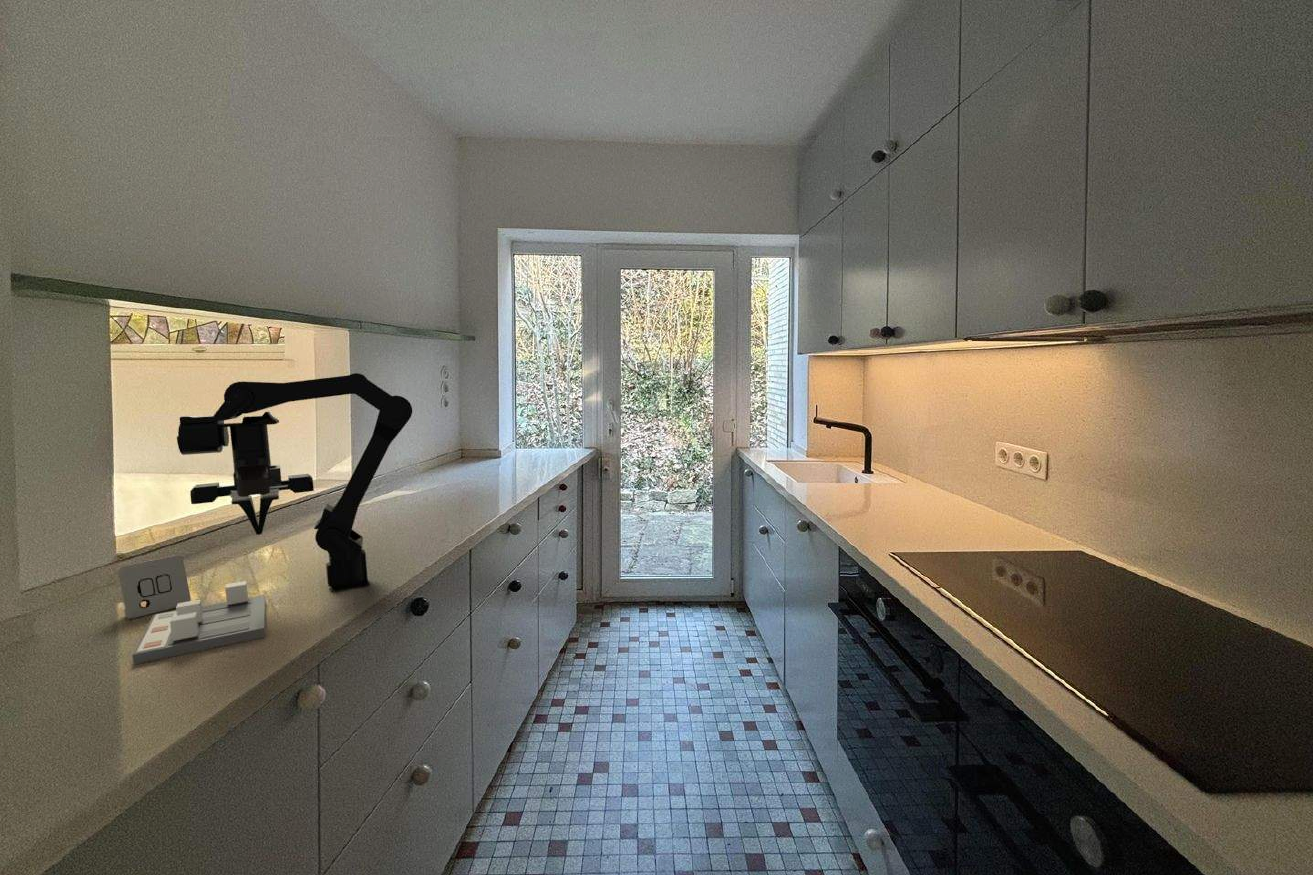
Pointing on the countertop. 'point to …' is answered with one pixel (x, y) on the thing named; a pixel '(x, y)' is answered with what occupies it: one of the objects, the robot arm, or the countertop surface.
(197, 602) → the switch tab
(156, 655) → the switch housing
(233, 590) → the switch tab
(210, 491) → the robot arm
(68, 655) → the countertop surface
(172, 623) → the switch tab
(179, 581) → the electrical switch
